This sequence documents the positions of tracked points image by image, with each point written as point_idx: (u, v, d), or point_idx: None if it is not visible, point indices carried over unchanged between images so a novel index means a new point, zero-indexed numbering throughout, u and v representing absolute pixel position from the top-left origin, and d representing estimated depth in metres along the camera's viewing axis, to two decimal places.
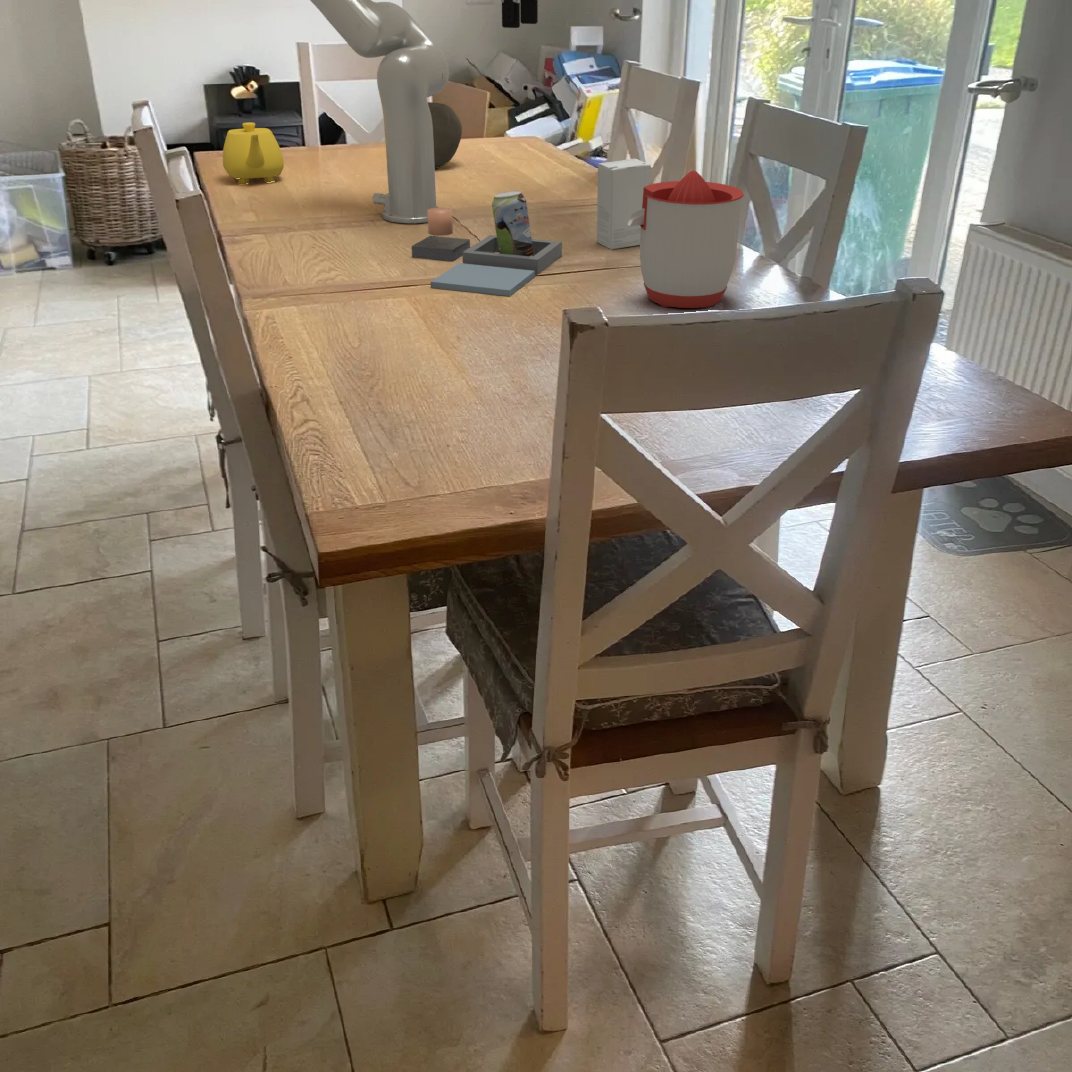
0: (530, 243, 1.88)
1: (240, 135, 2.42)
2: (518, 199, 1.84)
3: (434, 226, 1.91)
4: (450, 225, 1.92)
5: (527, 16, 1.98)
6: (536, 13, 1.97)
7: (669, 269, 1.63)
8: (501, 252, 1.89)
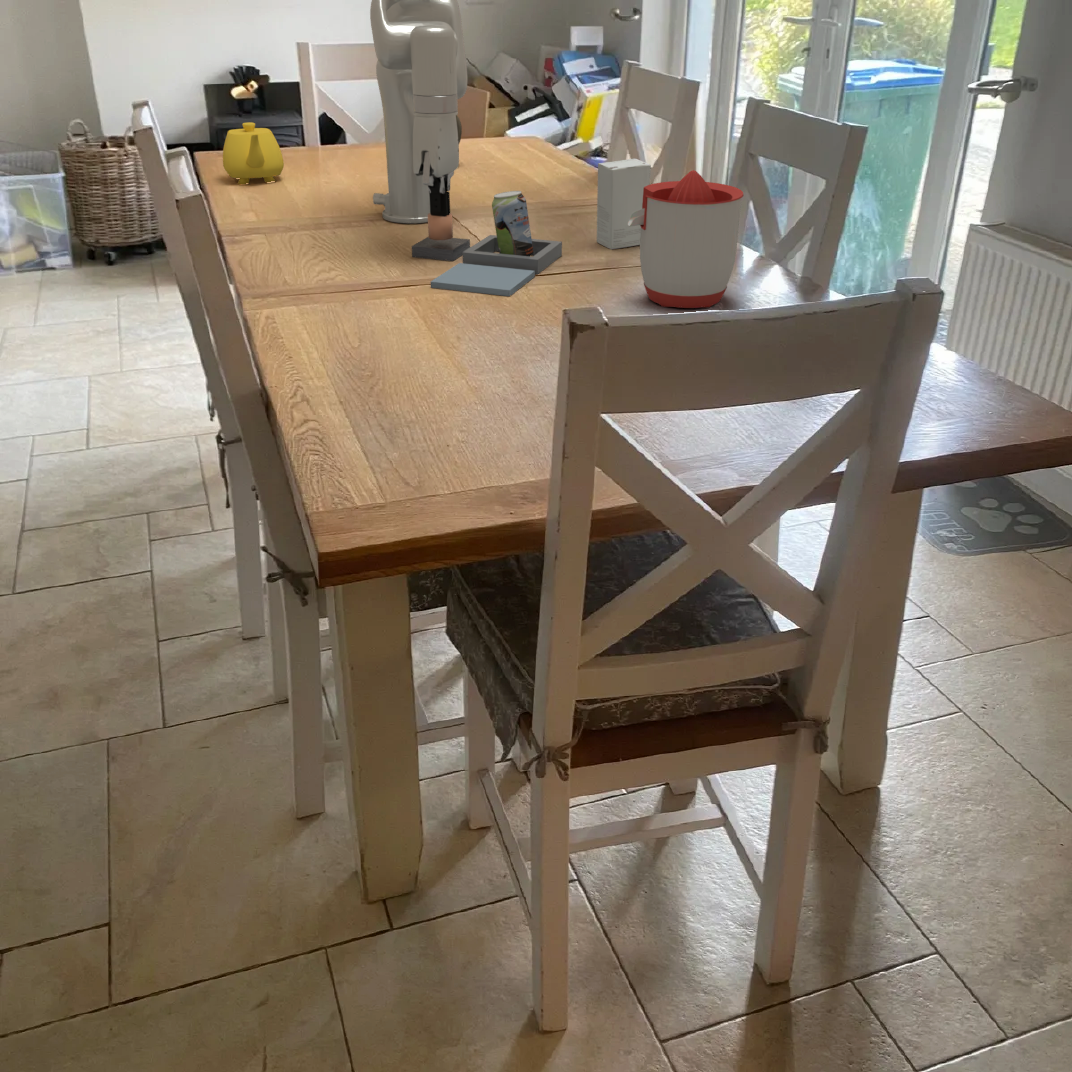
0: (530, 243, 1.88)
1: (240, 135, 2.42)
2: (518, 199, 1.84)
3: (434, 231, 1.91)
4: (450, 229, 1.92)
5: None
6: (448, 205, 1.90)
7: (669, 269, 1.63)
8: (501, 252, 1.89)
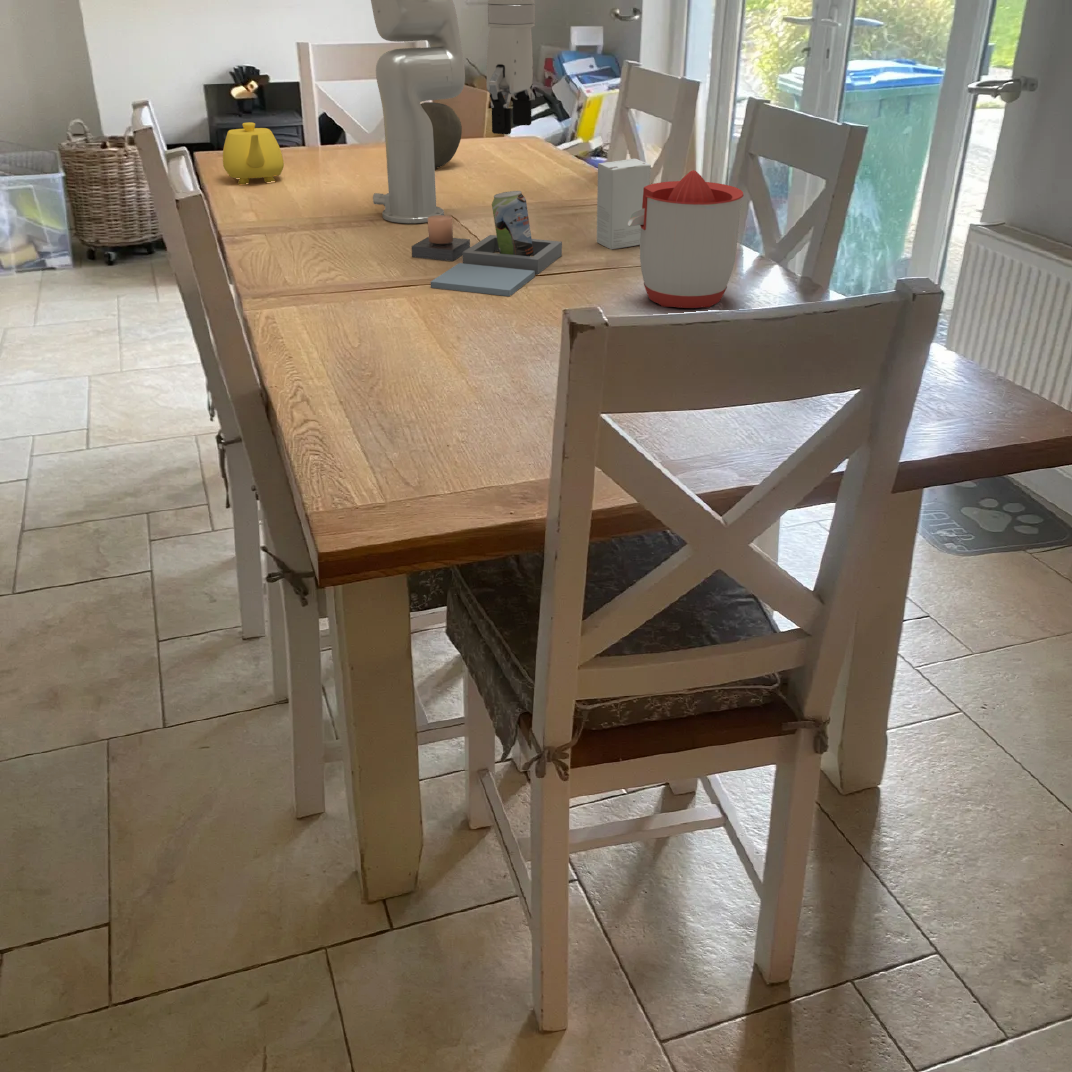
0: (530, 243, 1.88)
1: (240, 135, 2.42)
2: (518, 199, 1.84)
3: (435, 234, 1.92)
4: (450, 233, 1.92)
5: (520, 117, 1.83)
6: (530, 114, 1.83)
7: (669, 269, 1.63)
8: (501, 252, 1.89)
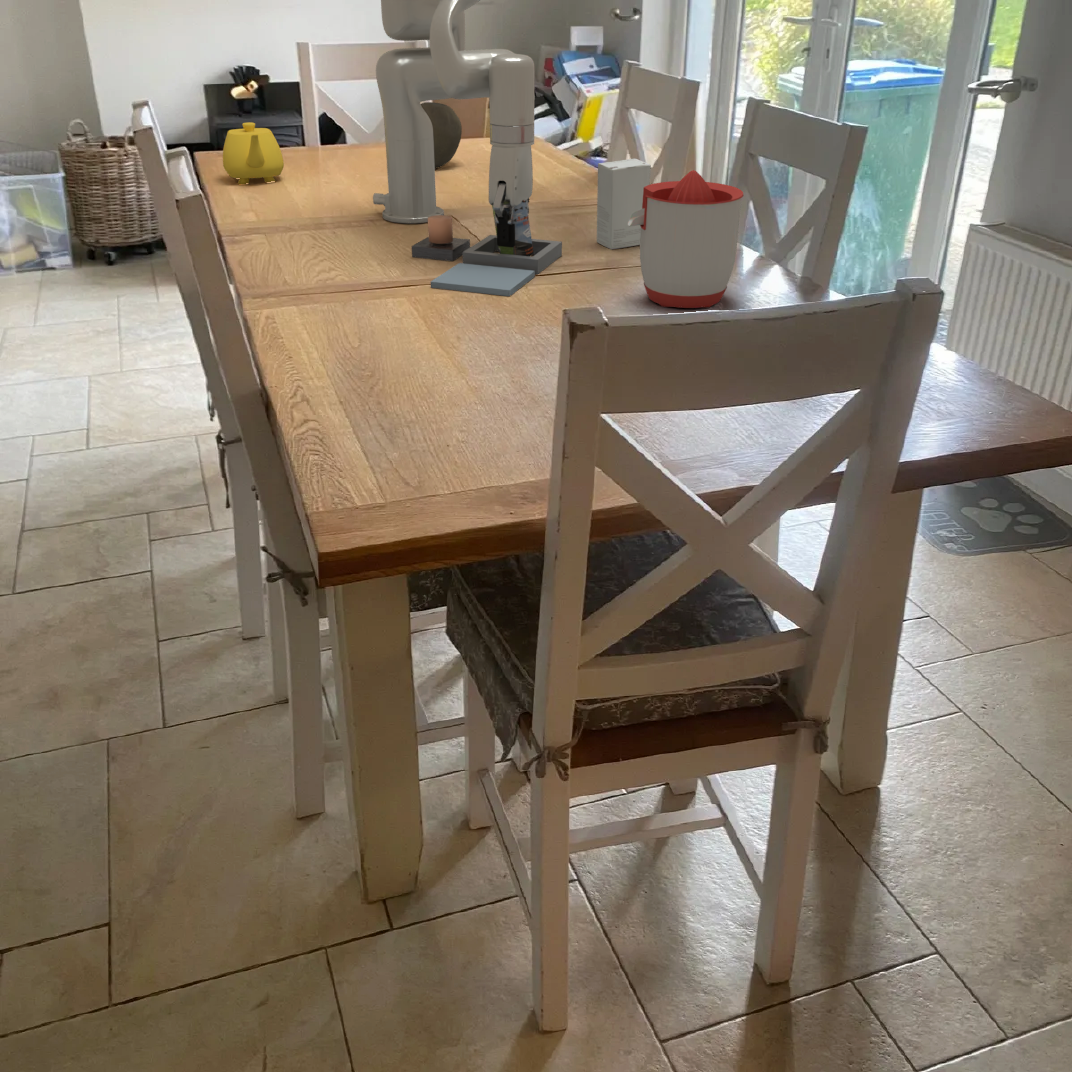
0: (530, 243, 1.88)
1: (240, 135, 2.42)
2: None
3: (435, 234, 1.92)
4: (450, 233, 1.92)
5: None
6: None
7: (669, 269, 1.63)
8: (501, 252, 1.89)
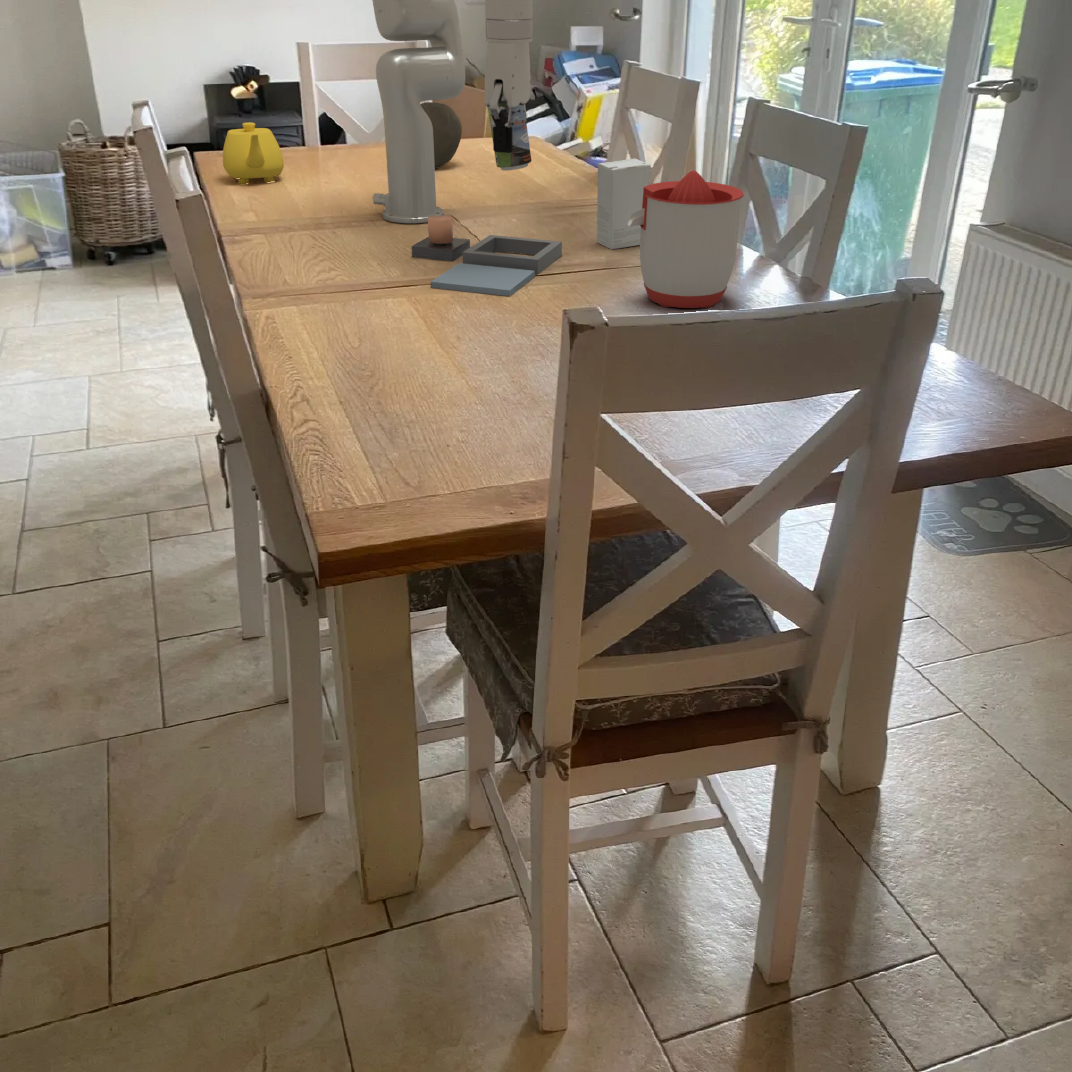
0: (528, 149, 1.80)
1: (240, 135, 2.42)
2: None
3: (435, 234, 1.92)
4: (450, 233, 1.92)
5: None
6: None
7: (669, 269, 1.63)
8: (498, 159, 1.80)
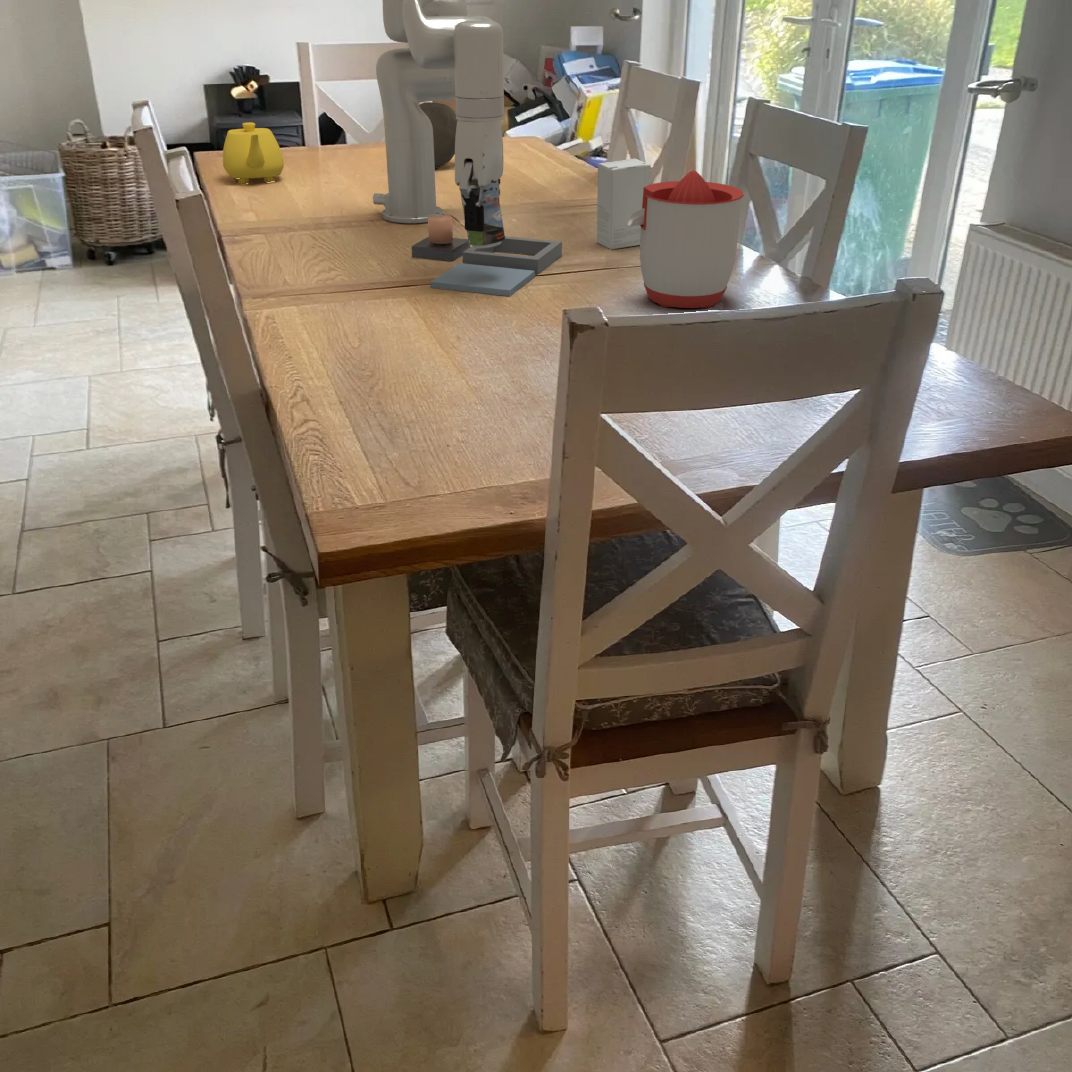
0: (501, 227, 1.74)
1: (240, 135, 2.42)
2: None
3: (435, 234, 1.92)
4: (450, 233, 1.92)
5: None
6: None
7: (669, 269, 1.63)
8: (470, 237, 1.74)
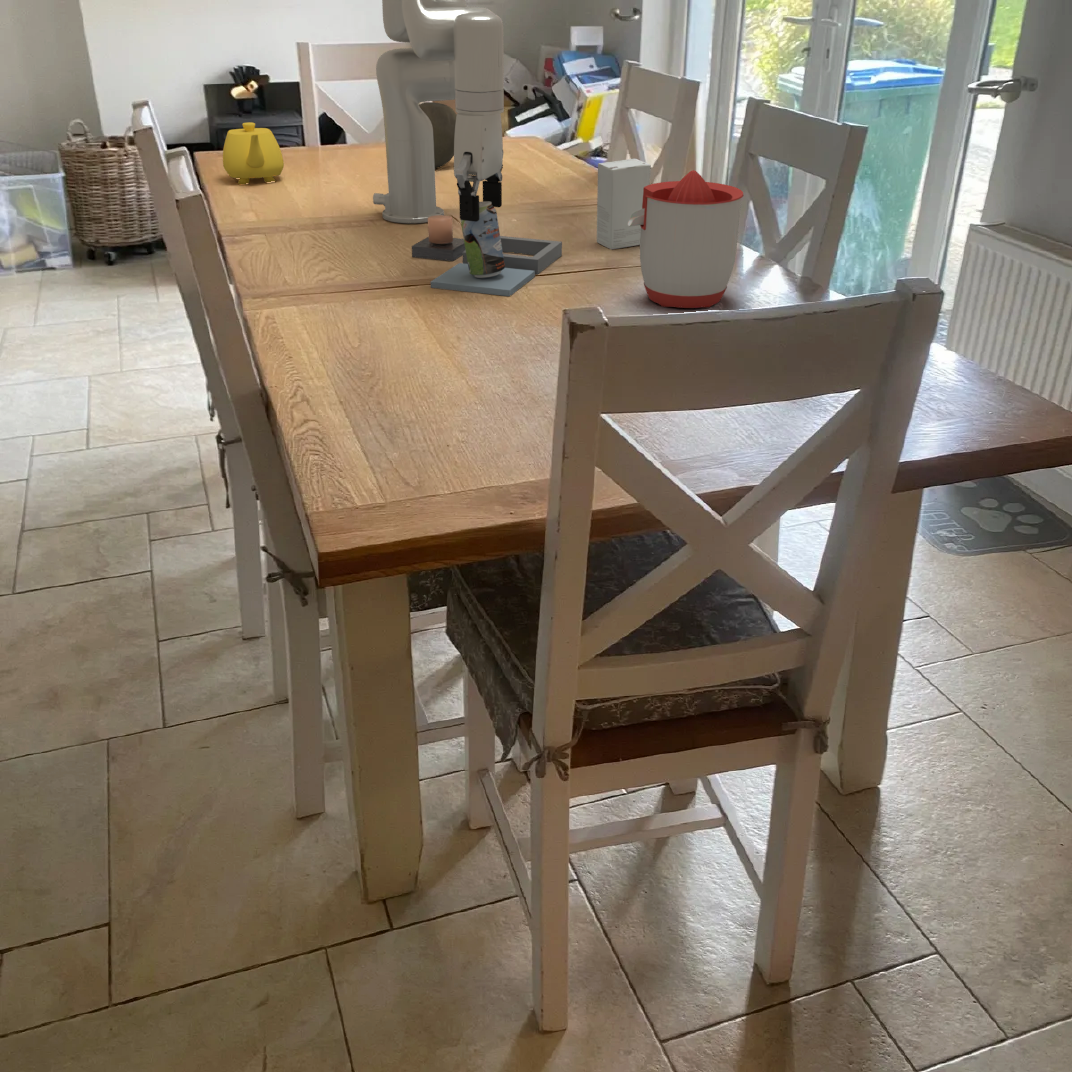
0: (501, 257, 1.77)
1: (240, 135, 2.42)
2: (487, 210, 1.72)
3: (435, 234, 1.92)
4: (450, 233, 1.92)
5: (490, 199, 1.78)
6: (500, 196, 1.77)
7: (669, 269, 1.63)
8: (470, 267, 1.77)
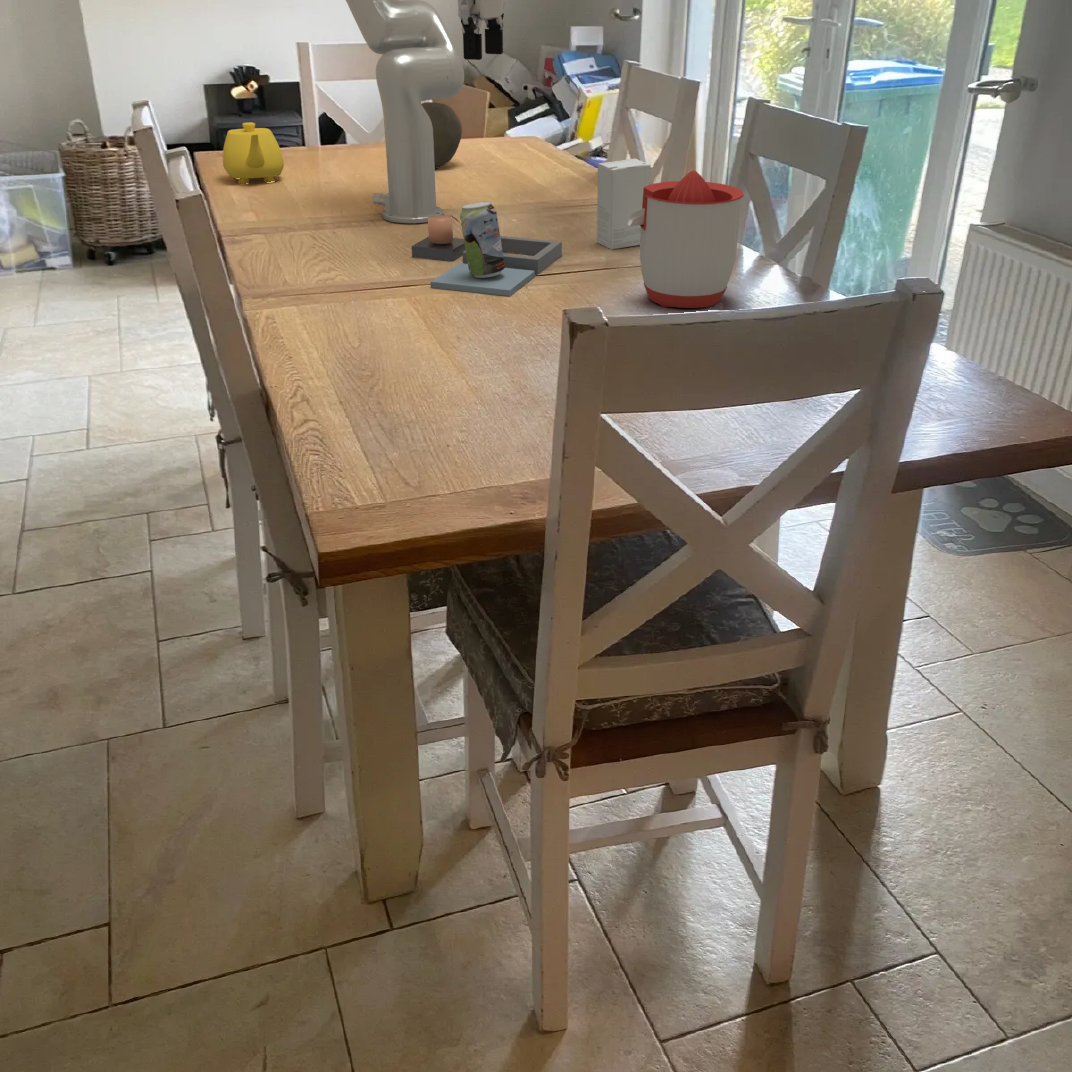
0: (501, 257, 1.77)
1: (240, 135, 2.42)
2: (487, 210, 1.72)
3: (435, 234, 1.92)
4: (450, 233, 1.92)
5: (492, 46, 1.89)
6: (501, 43, 1.89)
7: (669, 269, 1.63)
8: (470, 267, 1.77)
